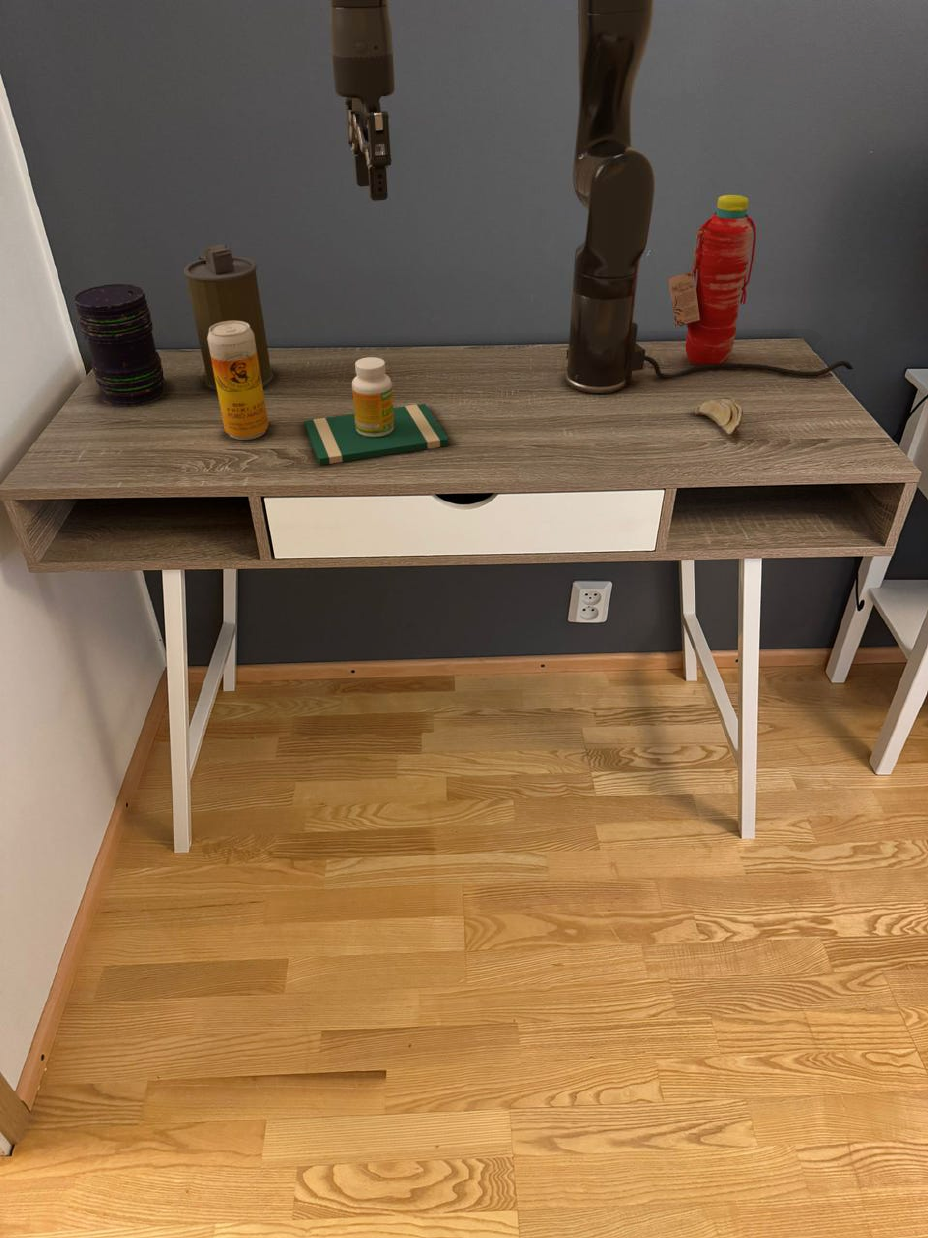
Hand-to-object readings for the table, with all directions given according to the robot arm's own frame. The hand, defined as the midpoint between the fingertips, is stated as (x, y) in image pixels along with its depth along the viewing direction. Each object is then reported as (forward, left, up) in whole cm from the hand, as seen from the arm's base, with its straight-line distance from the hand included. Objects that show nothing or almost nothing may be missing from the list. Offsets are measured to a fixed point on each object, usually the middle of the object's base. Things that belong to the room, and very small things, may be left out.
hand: (371, 192), depth 119 cm
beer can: (+22, +8, -28) cm, 37 cm away
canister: (+21, -11, -28) cm, 37 cm away
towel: (+5, +15, -28) cm, 32 cm away
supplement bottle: (+5, +15, -27) cm, 32 cm away
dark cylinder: (+37, -11, -28) cm, 48 cm away
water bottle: (-51, +6, -28) cm, 59 cm away
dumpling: (-42, +28, -28) cm, 58 cm away
